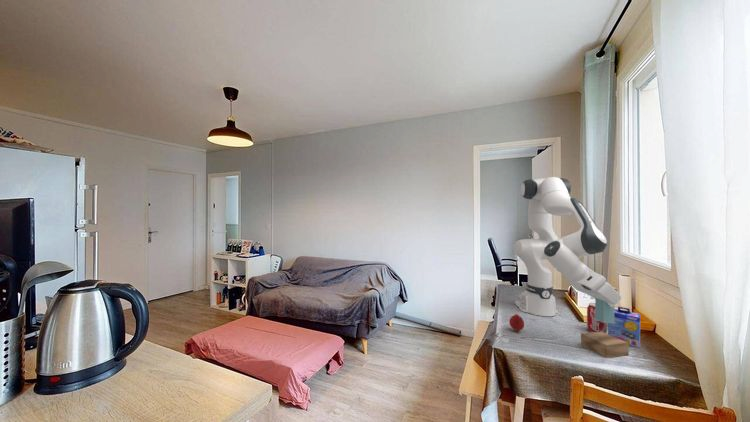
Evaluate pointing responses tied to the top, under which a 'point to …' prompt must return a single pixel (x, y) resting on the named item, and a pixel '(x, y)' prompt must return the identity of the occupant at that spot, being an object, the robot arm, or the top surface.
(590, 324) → the soda can
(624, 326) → the ink cartridge box
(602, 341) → the walnut block
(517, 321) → the onion
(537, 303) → the robot arm
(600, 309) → the teal block
